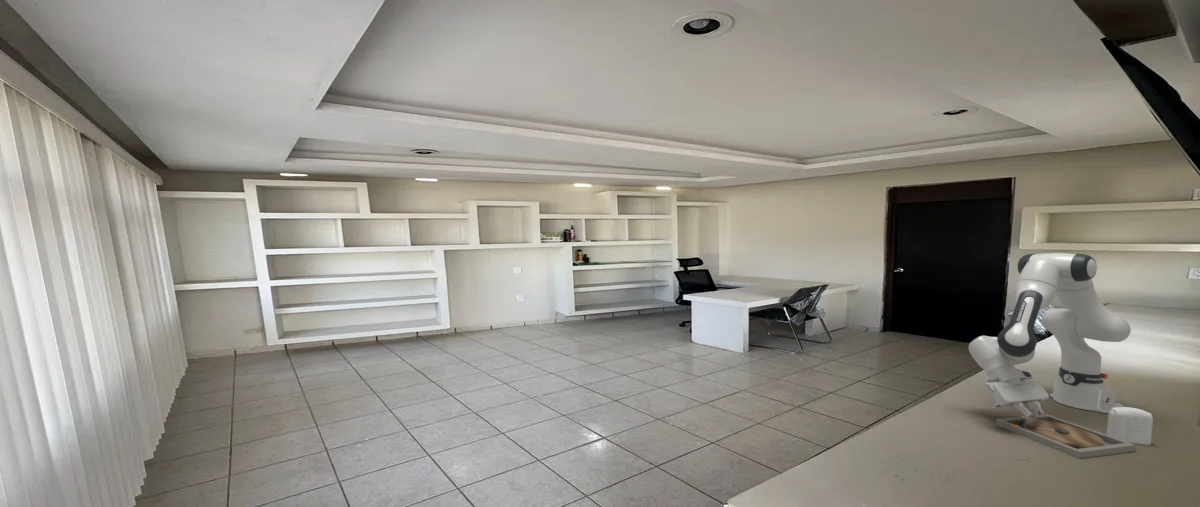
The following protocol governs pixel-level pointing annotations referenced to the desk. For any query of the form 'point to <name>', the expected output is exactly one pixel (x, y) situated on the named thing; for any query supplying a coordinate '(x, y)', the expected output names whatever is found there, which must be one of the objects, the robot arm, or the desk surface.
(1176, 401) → the desk surface
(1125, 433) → the photo printer
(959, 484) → the desk surface
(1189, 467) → the desk surface
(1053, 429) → the dial
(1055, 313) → the robot arm
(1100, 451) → the dial base
